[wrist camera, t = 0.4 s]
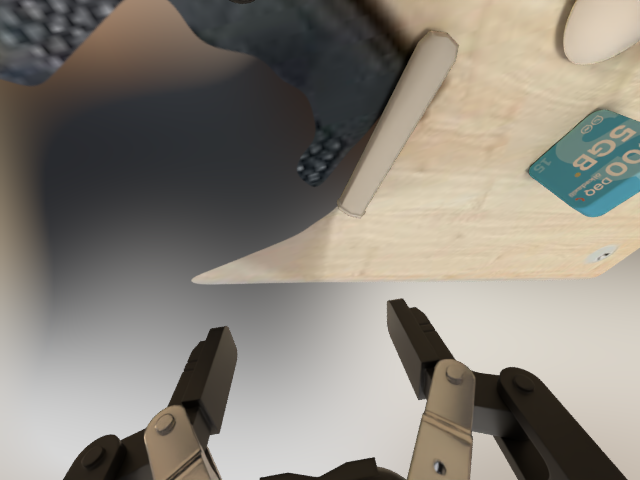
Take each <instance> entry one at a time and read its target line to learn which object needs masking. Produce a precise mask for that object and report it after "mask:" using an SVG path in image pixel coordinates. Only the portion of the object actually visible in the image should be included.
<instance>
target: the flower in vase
mask: <svg viewBox="0 0 640 480" xmlns="http://www.w3.org/2000/svg"><path fill="white" fill-rule="evenodd" d="M639 40H640V0H576V2H575V4H574V5H573V8H572V10H571V12H570V14H569V17H568V19H567V22H566V26H565V29H564V35H563V44H564V51H565V54H566V56H567V58H568V59H569V60H570V61H571V62H573V63H575V64H578V65H589V64H594V63H599V62H602V61H605V60H608V59H610V58H612V57H614V56H616V55H618V54H620V53H621V52H623V51H625V50H626V49H628V48H629V47H631V46H632V45H634V44H635V43H637V42H638V41H639Z"/></svg>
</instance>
